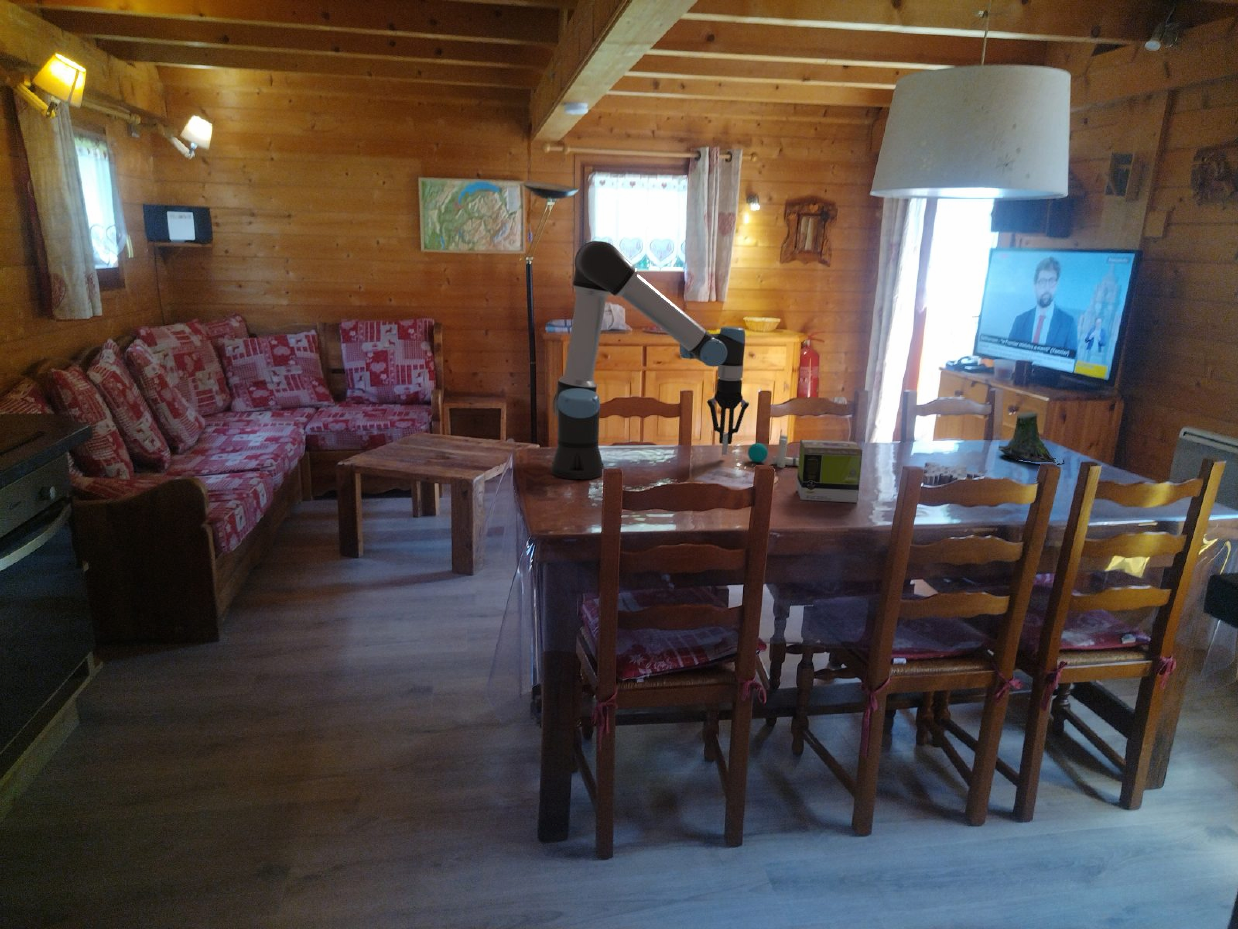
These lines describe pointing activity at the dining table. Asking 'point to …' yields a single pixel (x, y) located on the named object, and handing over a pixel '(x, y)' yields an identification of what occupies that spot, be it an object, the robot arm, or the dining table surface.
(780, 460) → the pin
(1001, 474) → the dining table surface
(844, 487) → the tea box
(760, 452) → the ball
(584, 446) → the robot arm
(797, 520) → the dining table surface
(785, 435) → the pin
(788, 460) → the front pin
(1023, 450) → the tree stump
